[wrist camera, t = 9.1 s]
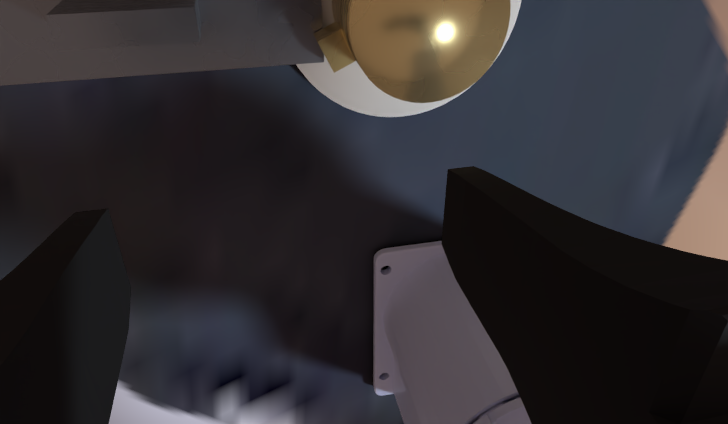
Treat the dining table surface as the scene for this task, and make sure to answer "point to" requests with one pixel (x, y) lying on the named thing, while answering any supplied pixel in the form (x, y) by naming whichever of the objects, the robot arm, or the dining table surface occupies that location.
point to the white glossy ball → (357, 88)
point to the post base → (152, 37)
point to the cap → (417, 43)
